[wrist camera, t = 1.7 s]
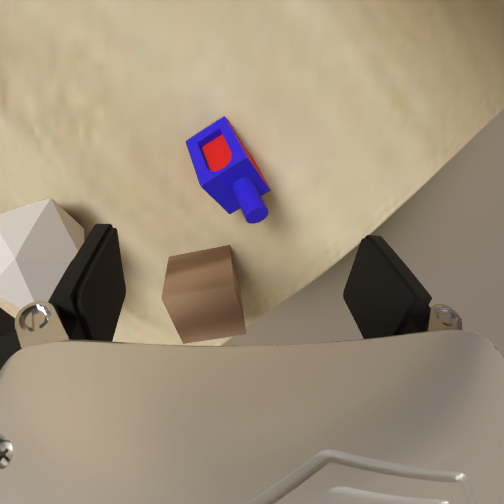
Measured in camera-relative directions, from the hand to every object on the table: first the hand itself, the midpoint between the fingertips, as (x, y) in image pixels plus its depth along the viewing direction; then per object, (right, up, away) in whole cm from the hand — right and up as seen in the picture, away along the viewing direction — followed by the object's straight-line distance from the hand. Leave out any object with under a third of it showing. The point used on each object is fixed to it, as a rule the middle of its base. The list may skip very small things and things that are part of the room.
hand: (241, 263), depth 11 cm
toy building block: (-1, +7, +9) cm, 11 cm away
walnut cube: (-4, -2, +14) cm, 15 cm away
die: (-16, +2, +10) cm, 19 cm away
